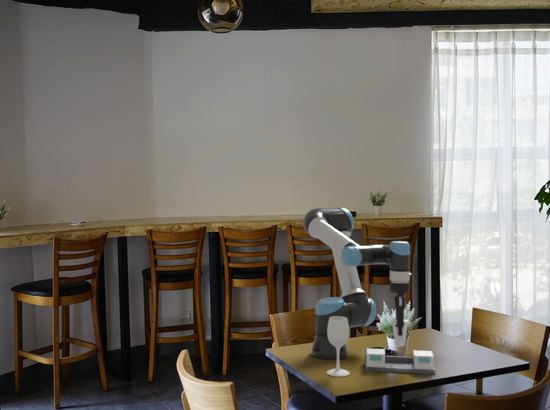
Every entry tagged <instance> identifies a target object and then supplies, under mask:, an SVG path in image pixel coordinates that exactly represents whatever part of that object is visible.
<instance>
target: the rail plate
mask: <svg viewBox="0 0 550 410" xmlns="http://www.w3.org/2000/svg"><path fill="white" fill-rule="evenodd" d="M364 357H365V362H364V363H365V364H364V371H365V372H378V373H382V372H384V373H399V374H401V373H402V374H403V373H404V374H422V375H424V374H425V375H426V374H427V375H435V374H436V369H435V367H434V370H429V369H414V364H413V356H402V355H401V356H400V355H399V356H397V355H385V368H384V367H366V354H365V355H364Z"/></svg>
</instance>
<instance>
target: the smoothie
mask: <svg viewBox="0 0 550 410" xmlns="http://www.w3.org/2000/svg"><path fill="white" fill-rule="evenodd" d="M391 324H392V331H393V332H392V333H393V340H394V345H395V346H396V347H404V346H405V345H406V338H407V332H408V324H409V320H408V319H406V318H404V326H403V327H404V344H396V327H395V325H397V319H396V318H393V319H391Z"/></svg>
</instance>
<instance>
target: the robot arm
mask: <svg viewBox="0 0 550 410" xmlns="http://www.w3.org/2000/svg"><path fill="white" fill-rule="evenodd" d="M354 224H355V221H354V218H353V215H352V213H351V211H350V210H348V209H347V208H344V207H316V208H313V209H310V210H309V211H308V212H307V213H306V214H305V215H304V217H303V221H302V225H303V229H304V230H305V232H306V233H307V234H308V235H309V236H311V237H312V238H314V239H318V240H320V241H321V242H322V243H323V244H325V245H326V246H328V247H329V248H330V249H331V252H332V256H333V260H334V265H335V269H336V272H337V273H336V274H337V279H338V282H339V285H340V290H341V293H342V294H341V296H340V297H339V296H333V297H331V296H329V297H325V298H321V299H319V300H317V302H316V304H315V310H314V311H315V336H314V340H313V343H312V346H311V356H312V357H315V358H316V359H321V360H337V350H336V347H334V346H333V345H332V344H331V343H330V342H329V340H328V336H327V328H328V322H329V318H330V317H333V316H342V317H346V318H347V320H348V325H349V329H350V328H357V327H360V328H362V327H366V326H369V325H371V324H372V323H373V322H374V320H375V318H376V315H377V308H376V303H375V301H374V300H373V299H372V298H370V297H368V295H367V292H366V291H365V290H363V289H362V285H361V281H360V277H359V273H358V269H357V266H358V267H359V266H370V265H389V281H391V282H389V292H391V293H394V294H395V293H396V294H395V295H394V307H395V319H397V325H395V327H396V344H404V327H403V326H404V319H405V317H404V316H405V314H404V313H405V306H406V303H405V302H406V297H405V295H404V294H408V293H410V291H411V287H410V286H411V282H410V280H411V279H410V278H411V276H412V273H411V272H410V270H411V245H410V243H409V242H408V241H401V240H398V241H396V240H395V241H394V240H393V241H391V242H390V243H389V244H383V243H377V244H372V245H360V244H358V243H356V242H355V241H354V240H352V239H351V238H350V237H351V236H352V231H353V230H354V227H355V226H354ZM348 353H349V349H348V347H347V343H346V344H345V345H344V346H342V347H341V348H340V352H339V360H340V359H343V358H346V357H348V355H349V354H348Z"/></svg>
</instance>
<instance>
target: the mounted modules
mask: <svg viewBox="0 0 550 410" xmlns="http://www.w3.org/2000/svg"><path fill="white" fill-rule="evenodd" d="M365 355H366V367H384V368H385V356H386V350H385V348H368V347H367V348H366V354H365ZM412 355H413V356H412V357H413V364H414V369H429V370H434V368H435V366H434V364H435V363H434V361H435V360H434V359H435V358H434V353H433V351H432V350H415V349H413V354H412Z"/></svg>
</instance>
